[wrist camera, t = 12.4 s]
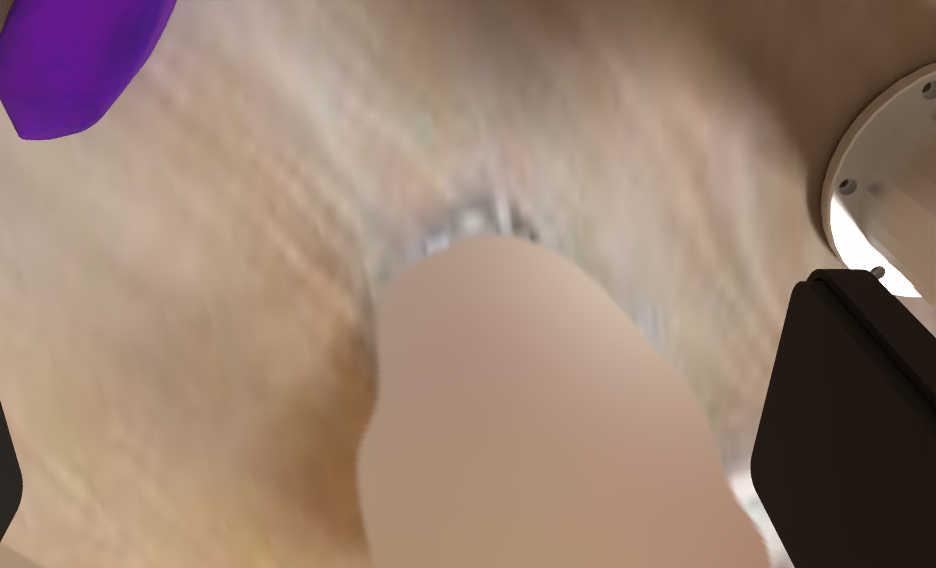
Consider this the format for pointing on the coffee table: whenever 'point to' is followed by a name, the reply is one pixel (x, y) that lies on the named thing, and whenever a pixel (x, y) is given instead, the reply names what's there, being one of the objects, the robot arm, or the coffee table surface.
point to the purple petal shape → (73, 59)
